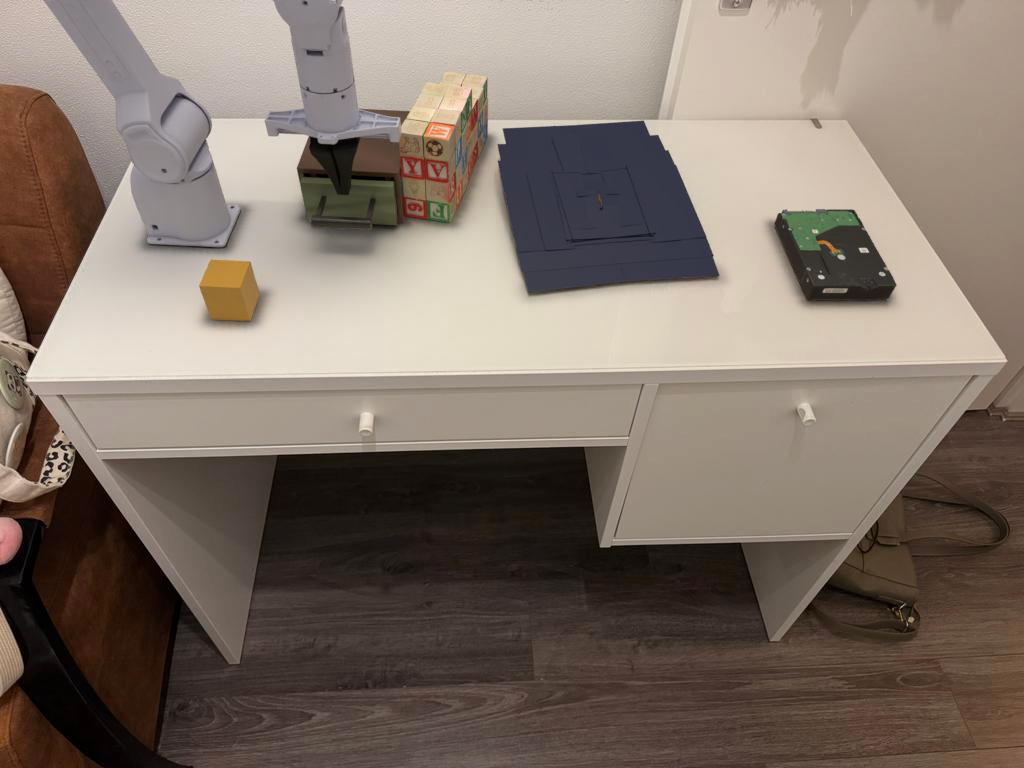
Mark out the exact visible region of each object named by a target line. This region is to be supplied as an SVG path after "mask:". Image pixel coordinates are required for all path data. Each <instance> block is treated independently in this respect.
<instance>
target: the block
mask: <svg viewBox="0 0 1024 768" xmlns="http://www.w3.org/2000/svg"><path fill="white" fill-rule="evenodd" d="M257 282H258V281H257V279H256V277H255V273H254V269H253V266H252V262H251V260H229V259H210V260H209V263H208V265H207V267H206V269H205V270H204V273H203V275H202V279H201V281H200V282H199V285H198V288H199V290H200V293H201V295H202V298H203V301H204V304H205V306H206V309H207V312H208V314H209V317H210V319H211V320H216V321H217V320H218V321H236V322H237V321H238V322H239V321H241V322H251V321H252V318H253V315H254V312H255V310H256V307H257V304H258V301H259V299H260V296H261V293H260V290H259V286H258V283H257Z"/></svg>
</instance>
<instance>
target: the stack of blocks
mask: <svg viewBox="0 0 1024 768" xmlns="http://www.w3.org/2000/svg"><path fill="white" fill-rule="evenodd" d="M409 111H410V113H409V114H408V116H407V118H406V119H405V121H404V122H403V124H402V126H401V138H400V142H399V150H400V166H401V175H402V183H403V194H404V196H403V199H404V211H405V217H411V218H416V219H422V220H431V221H435V222H436V221H437V222H442V223H449V224H450V223H451V222H452V220H453V218H454V216H455V213H456V211H457V209H458V208H459V205H460V203H461V200H462V199H463V196H464V194H465V192H466V191H467V188H468V185H469V181H470V178H471V175H472V173H473V170H474V167H475V165H476V163H477V161H478V159H479V158H480V156H481V154H482V151H483V149H484V146H485V144H486V141H487V139H488V135H489V97H488V76H485V75H484V76H483V75H477V74H470V73H460V72H453V71H444V73H443V75H442V76H441V78H440V80H439V82H438V83H436V82H430V81H427V82H425V84H424V86H423V88H422V89H421V91H420V94H419V96H418V97H417V99H416V101H415V103H414V105H413V106H412V108H411V109H410V110H409Z"/></svg>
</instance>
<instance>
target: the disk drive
mask: <svg viewBox="0 0 1024 768" xmlns="http://www.w3.org/2000/svg"><path fill="white" fill-rule="evenodd" d="M774 226H775V230H776V232H777V234H778V237H779V239H780V242H781V244H782V247H783V249H784V251H785V253H786V255H787V257H788V260H789V261H790V264H791V266H792V269H793V271H794V273H795V275H796V277H797V280H798V282H799V285H800V286H801V289H802V291H803V293H804V295H805V296H806V299H807V300H820V301H838V300H839V301H841V300H842V301H854V300H855V301H856V300H858V301H860V300H861V301H862V300H864V301H865V300H869V301H870V300H872V301H873V300H875V301H877V300H889V299H890V298H891V296H892V294H893V292H894V291H895V289H896V287H897V283H896V281H895V279H894V276H893V274H892V272H891V271H890V270H889V268H888V266H887V264H886V262H885V261H884V259H883V257H882V256H881V254H880V252H879V251H878V249H877V247H876V245H875V243H874V242H873V240H872V238H871V235H870V234H869V232H868V231H867V230H866V228H865V225H864V224H863V222H862V220H861V218H860V217H859V215H858V213H857V212H856V210H855V209H852V208H851V209H849V208H847V209H845V208H844V209H841V208H840V209H839V208H838V209H834V208H833V209H832V208H829V209H828V208H827V209H825V208H815V210H788V209H782V210H781V212H778V213H777V215H776V218H775V221H774Z"/></svg>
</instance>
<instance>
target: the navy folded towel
mask: <svg viewBox="0 0 1024 768" xmlns="http://www.w3.org/2000/svg"><path fill="white" fill-rule="evenodd" d="M502 133H503V137H504V142H505V143H497V150H498V154H499V160H497V165H498V170H499V175H500V181H501V186H502V190H503V195H504V199H505V204H506V207H507V213H508V218H509V221H510V225H511V231H512V235H513V239H514V244H515V248H516V254H517V258H518V262H519V266H520V271H521V273H523V278H524V282H525V285H526V288H527V293H529V294H531V293H539V292H546V291H554V290H562V289H572V288H580V287H586V286H596V285H603V284H612V283H621V282H631V281H633V282H635V281H654V280H670V279H671V280H672V279H674V280H675V279H689V278H693V279H694V278H708V277H709V278H710V277H721V275H720V272H719V270H718V267H717V264H716V261H715V259H714V257H715V255H714V253H713V251H712V248H711V246H710V242H709V240H708V238H707V234H706V232H705V230H704V228H703V225H702V223H701V220H700V218H699V215H698V213H697V210H696V209H695V206H694V204H693V201H692V199H691V196H690V194H689V192H688V190H687V187H686V185H685V183H684V180H683V178H682V175H681V174H680V173H681V172H680V171H679V168H678V166H677V164H675V162H674V159H673V157H672V155H671V153H670V150H669V149H666V148H665V146H664V144H663V142H662V139H661V138H660V136H659V134H652V135H651V134H650V132H649V130H648V127H647V124H646V122H645V120H631V121H616V122H600V123H585V124H568V125H548V126H547V125H545V126H543V125H542V126H526V127H525V126H523V127H503V128H502Z"/></svg>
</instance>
